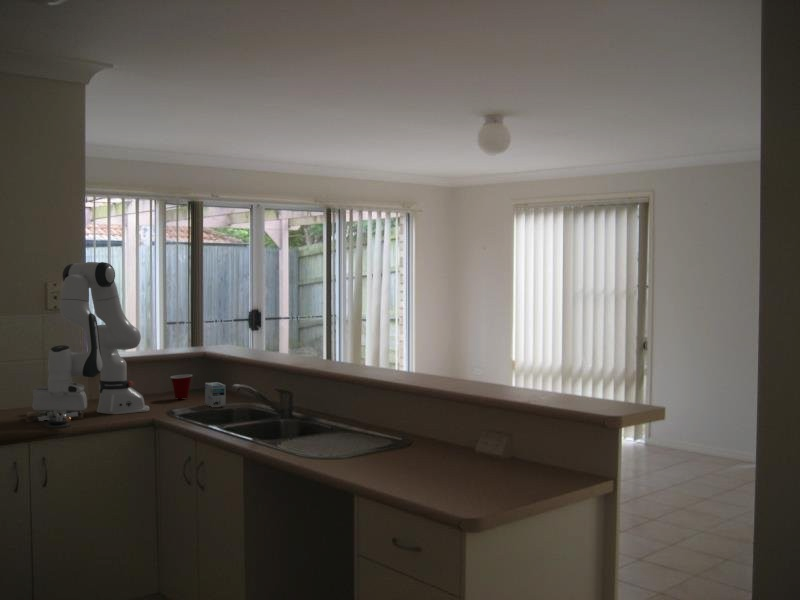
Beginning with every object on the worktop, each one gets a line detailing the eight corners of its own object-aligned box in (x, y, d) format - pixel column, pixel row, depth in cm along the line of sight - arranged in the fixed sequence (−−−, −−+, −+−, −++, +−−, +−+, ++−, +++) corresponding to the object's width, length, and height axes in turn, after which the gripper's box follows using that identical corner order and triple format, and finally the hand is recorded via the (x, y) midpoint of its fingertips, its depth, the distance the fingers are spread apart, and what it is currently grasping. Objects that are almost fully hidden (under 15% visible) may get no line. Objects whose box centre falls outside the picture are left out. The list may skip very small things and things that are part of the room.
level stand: (82, 414, 333) (82, 405, 333) (83, 418, 324) (83, 408, 324) (27, 418, 324) (27, 408, 324) (26, 422, 315) (26, 412, 315)
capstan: (22, 423, 307) (22, 411, 307) (70, 416, 322) (70, 405, 322) (44, 430, 294) (44, 418, 294) (93, 423, 309) (93, 411, 309)
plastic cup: (172, 397, 382) (172, 373, 382) (194, 397, 383) (194, 373, 383) (167, 401, 371) (167, 376, 371) (190, 401, 373) (190, 376, 372)
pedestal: (69, 423, 314) (69, 421, 314) (70, 427, 306) (70, 425, 306) (45, 425, 310) (45, 422, 310) (45, 429, 302) (45, 426, 302)
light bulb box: (226, 407, 357) (226, 384, 357) (212, 408, 353) (212, 385, 353) (217, 403, 366) (217, 381, 366) (204, 405, 362) (204, 382, 362)
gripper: (29, 387, 298) (29, 422, 299) (83, 388, 300) (83, 422, 300) (35, 385, 304) (35, 419, 305) (88, 385, 306) (88, 419, 307)
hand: (59, 421), depth 303 cm, fingers closed
